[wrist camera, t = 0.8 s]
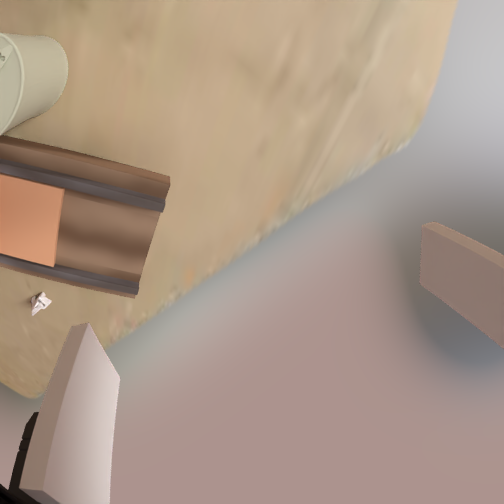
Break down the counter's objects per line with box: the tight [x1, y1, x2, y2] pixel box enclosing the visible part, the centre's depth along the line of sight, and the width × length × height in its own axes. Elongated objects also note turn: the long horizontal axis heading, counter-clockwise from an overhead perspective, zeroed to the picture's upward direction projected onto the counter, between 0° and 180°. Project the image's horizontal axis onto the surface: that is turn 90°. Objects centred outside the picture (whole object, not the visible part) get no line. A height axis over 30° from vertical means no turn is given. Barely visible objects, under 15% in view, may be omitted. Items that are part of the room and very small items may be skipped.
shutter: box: [0, 172, 65, 267], centre depth 27 cm, size 10×10×3 cm
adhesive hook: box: [31, 292, 52, 316], centre depth 37 cm, size 3×3×3 cm
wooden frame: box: [0, 135, 170, 298], centre depth 30 cm, size 16×23×4 cm
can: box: [0, 33, 68, 136], centre depth 18 cm, size 9×9×12 cm
